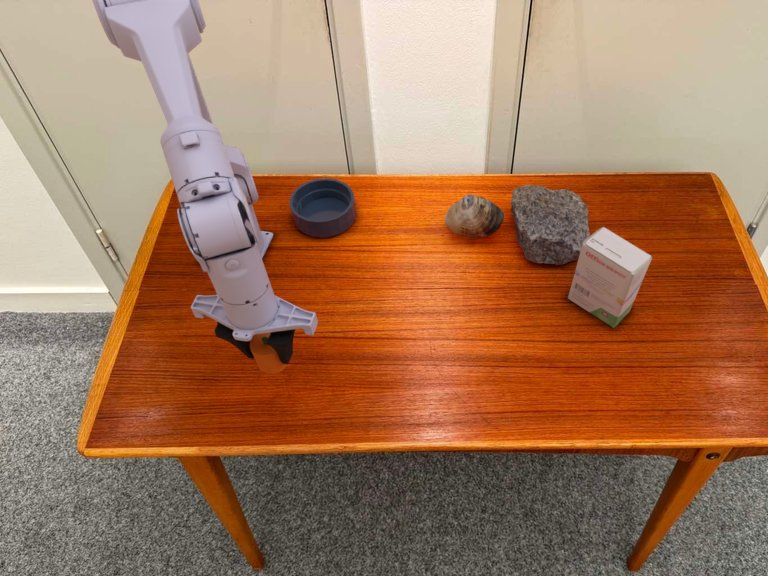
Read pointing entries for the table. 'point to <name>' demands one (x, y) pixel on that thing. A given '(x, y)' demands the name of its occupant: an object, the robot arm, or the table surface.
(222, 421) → the table surface
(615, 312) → the ink box
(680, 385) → the table surface
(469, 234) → the seashell
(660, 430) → the table surface
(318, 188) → the bowl
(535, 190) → the rock
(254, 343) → the squash
